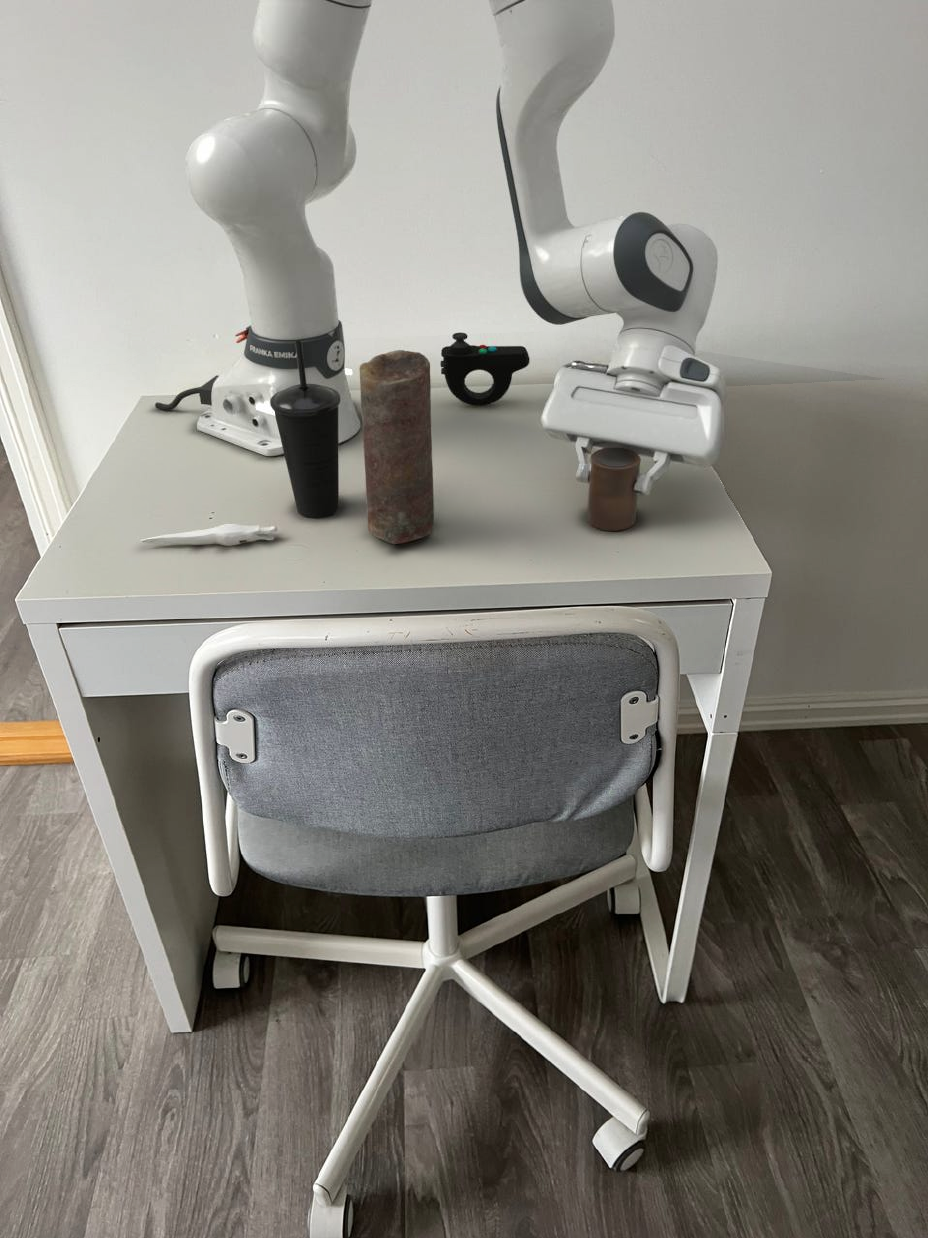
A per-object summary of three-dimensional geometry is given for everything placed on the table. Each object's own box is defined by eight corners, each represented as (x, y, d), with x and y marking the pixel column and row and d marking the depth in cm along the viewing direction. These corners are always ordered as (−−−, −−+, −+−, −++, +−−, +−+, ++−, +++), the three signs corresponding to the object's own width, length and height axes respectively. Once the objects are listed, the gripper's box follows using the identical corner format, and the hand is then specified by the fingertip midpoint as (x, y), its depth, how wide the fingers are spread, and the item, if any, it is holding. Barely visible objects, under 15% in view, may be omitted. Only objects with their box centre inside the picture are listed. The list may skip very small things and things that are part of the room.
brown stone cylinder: (449, 536, 109) (444, 362, 97) (396, 559, 105) (384, 381, 93) (407, 511, 113) (398, 342, 102) (355, 532, 110) (339, 359, 98)
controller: (442, 398, 141) (440, 329, 135) (528, 397, 141) (529, 328, 135) (441, 410, 137) (439, 340, 132) (529, 409, 137) (530, 338, 131)
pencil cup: (580, 524, 110) (583, 463, 106) (597, 503, 114) (600, 443, 109) (625, 534, 108) (631, 472, 104) (641, 513, 112) (647, 451, 107)
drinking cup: (339, 527, 111) (321, 355, 99) (275, 521, 112) (250, 351, 101) (359, 495, 117) (343, 330, 105) (298, 490, 118) (276, 327, 107)
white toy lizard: (279, 532, 110) (277, 518, 109) (277, 544, 108) (275, 530, 107) (143, 541, 109) (140, 527, 108) (139, 554, 107) (135, 539, 106)
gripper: (554, 345, 110) (518, 459, 109) (735, 372, 103) (698, 495, 101) (568, 370, 116) (533, 478, 115) (740, 397, 108) (705, 514, 107)
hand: (612, 486), depth 108 cm, fingers closed on pencil cup, 5 cm apart
